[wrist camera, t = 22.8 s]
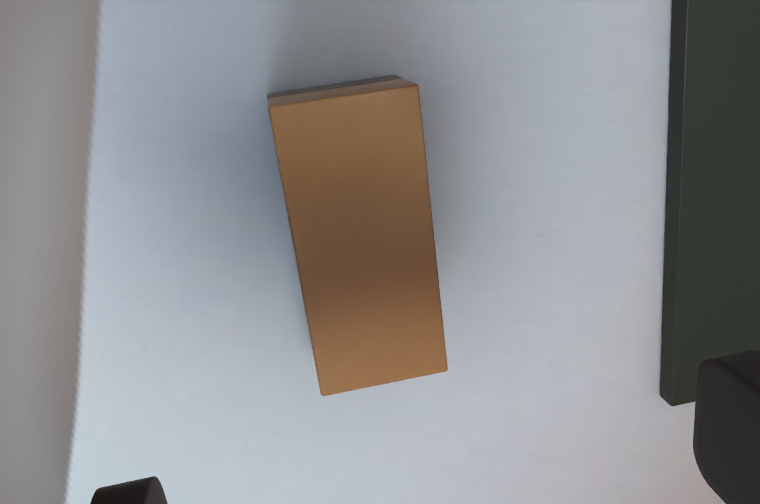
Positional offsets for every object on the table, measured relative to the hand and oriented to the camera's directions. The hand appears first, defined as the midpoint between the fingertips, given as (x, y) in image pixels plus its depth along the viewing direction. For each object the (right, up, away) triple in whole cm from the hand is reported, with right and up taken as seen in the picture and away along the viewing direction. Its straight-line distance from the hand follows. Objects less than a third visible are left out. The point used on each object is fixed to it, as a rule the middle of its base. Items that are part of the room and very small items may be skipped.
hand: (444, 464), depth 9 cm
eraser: (-2, +4, +17) cm, 18 cm away
